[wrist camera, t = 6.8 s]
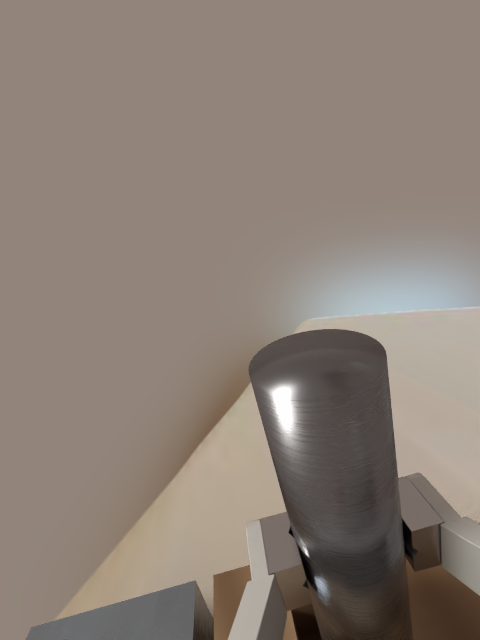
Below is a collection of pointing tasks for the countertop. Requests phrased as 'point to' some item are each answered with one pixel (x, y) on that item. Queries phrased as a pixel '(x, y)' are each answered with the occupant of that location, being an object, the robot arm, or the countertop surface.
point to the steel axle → (338, 477)
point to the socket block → (138, 619)
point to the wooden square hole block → (424, 594)
